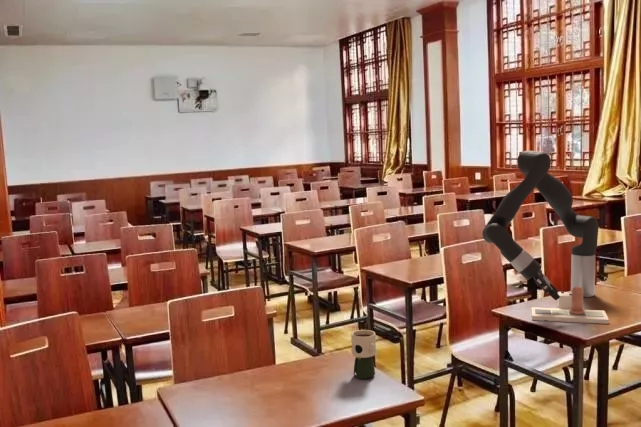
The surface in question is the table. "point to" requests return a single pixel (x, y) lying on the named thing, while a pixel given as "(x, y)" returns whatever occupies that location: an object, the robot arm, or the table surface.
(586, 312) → the game board
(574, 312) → the pawn
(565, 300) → the die
